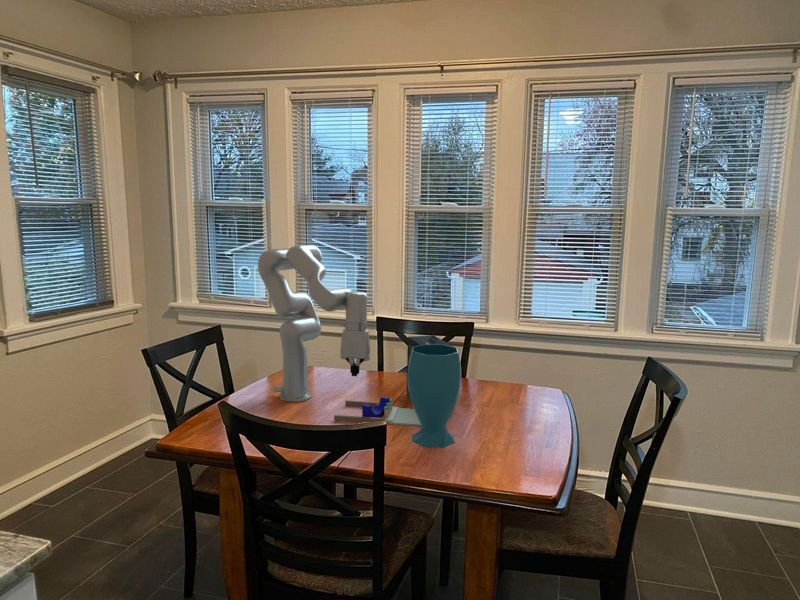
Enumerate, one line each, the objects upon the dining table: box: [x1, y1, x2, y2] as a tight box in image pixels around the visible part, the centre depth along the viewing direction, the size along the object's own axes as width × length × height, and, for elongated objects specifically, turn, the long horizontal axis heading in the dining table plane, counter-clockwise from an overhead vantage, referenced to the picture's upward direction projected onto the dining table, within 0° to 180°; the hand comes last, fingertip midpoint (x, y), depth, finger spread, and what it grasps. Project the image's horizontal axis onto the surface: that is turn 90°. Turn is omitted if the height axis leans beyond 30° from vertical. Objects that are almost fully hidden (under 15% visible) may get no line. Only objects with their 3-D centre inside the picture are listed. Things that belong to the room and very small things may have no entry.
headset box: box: [406, 334, 454, 395], centre depth 217 cm, size 22×12×26 cm, turn 19°
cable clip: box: [361, 396, 390, 418], centre depth 200 cm, size 12×4×6 cm, turn 145°
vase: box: [408, 344, 462, 449], centre depth 179 cm, size 17×17×30 cm
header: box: [333, 398, 421, 427], centre depth 201 cm, size 33×17×5 cm, turn 81°
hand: (354, 375), depth 201 cm, fingers closed
